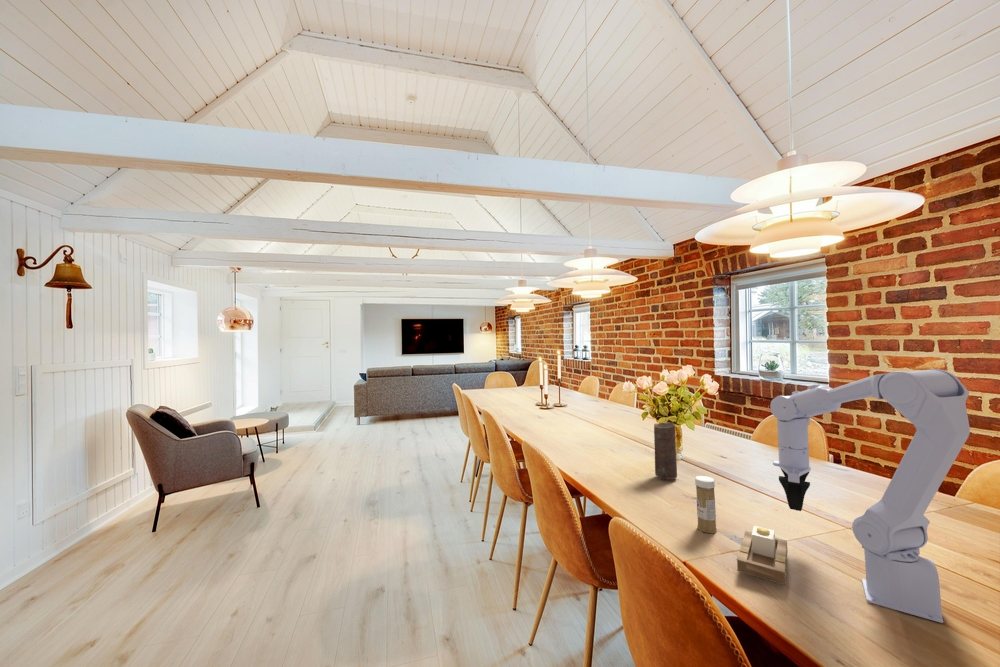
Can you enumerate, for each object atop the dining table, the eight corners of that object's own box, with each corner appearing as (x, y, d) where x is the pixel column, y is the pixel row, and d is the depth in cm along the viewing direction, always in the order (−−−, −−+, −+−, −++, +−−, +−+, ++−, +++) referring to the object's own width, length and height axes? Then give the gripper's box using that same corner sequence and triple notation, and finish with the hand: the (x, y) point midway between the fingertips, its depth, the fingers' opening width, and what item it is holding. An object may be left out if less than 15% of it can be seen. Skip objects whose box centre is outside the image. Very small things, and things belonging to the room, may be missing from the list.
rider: (754, 543, 88) (753, 523, 88) (775, 548, 85) (774, 528, 85) (752, 552, 84) (751, 532, 84) (774, 558, 81) (773, 537, 82)
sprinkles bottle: (693, 526, 101) (691, 475, 102) (709, 524, 102) (707, 474, 102) (704, 534, 97) (701, 481, 97) (721, 533, 97) (718, 480, 98)
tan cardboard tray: (746, 545, 91) (745, 529, 91) (787, 556, 86) (786, 539, 86) (738, 576, 79) (737, 558, 79) (785, 591, 74) (784, 571, 74)
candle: (681, 482, 133) (678, 425, 134) (660, 482, 133) (657, 426, 134) (671, 474, 141) (669, 421, 141) (652, 475, 141) (649, 421, 141)
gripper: (774, 437, 98) (776, 489, 97) (770, 451, 86) (773, 510, 86) (809, 440, 93) (811, 495, 93) (810, 456, 82) (813, 518, 82)
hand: (795, 503), depth 89 cm, fingers open, 7 cm apart
